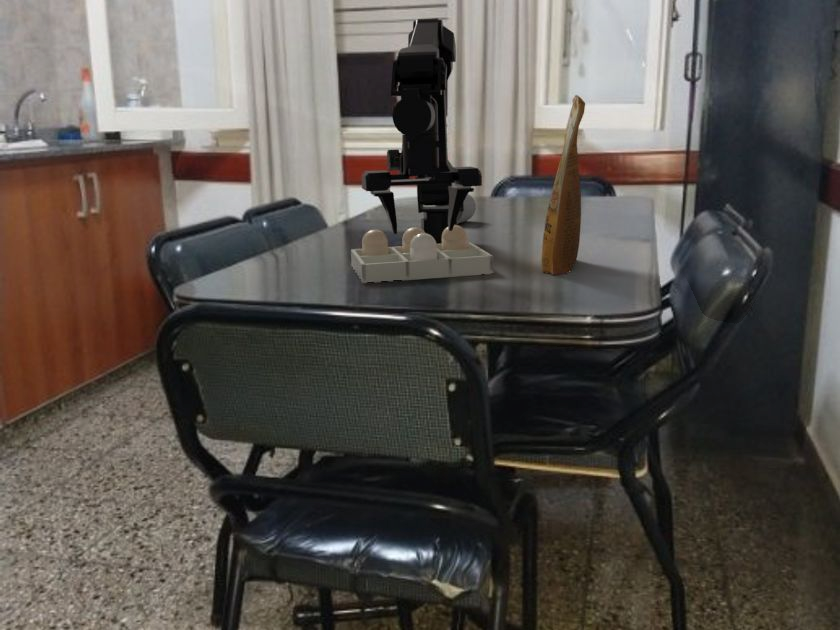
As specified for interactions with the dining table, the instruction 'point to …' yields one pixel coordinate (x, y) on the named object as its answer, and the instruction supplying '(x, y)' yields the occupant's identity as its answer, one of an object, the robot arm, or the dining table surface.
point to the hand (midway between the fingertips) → (422, 232)
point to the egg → (423, 247)
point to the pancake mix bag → (565, 203)
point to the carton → (397, 265)
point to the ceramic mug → (465, 209)
